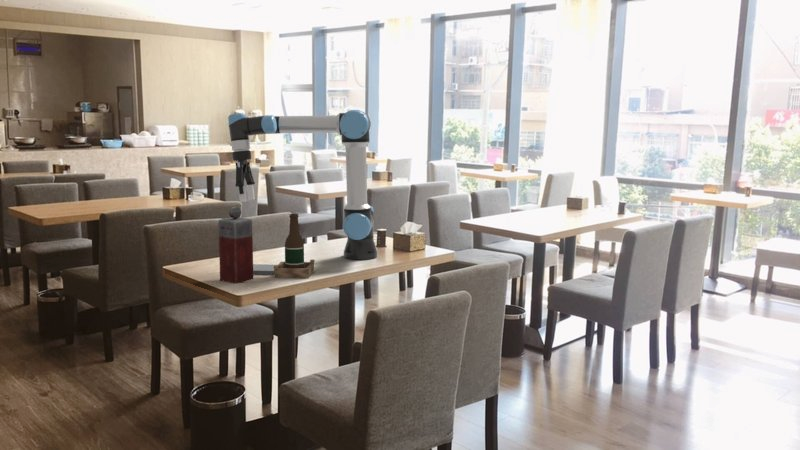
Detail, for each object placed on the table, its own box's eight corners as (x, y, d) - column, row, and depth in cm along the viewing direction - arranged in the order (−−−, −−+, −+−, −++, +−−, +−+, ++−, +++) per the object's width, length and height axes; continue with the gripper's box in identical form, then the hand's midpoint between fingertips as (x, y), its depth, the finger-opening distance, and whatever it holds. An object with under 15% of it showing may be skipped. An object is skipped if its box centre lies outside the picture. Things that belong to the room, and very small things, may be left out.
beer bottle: (308, 272, 273) (307, 213, 269) (299, 276, 266) (298, 215, 262) (290, 271, 275) (289, 212, 272) (281, 275, 268) (280, 214, 264)
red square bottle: (233, 275, 267) (231, 204, 263) (253, 279, 261) (252, 206, 256) (215, 279, 260) (213, 206, 255) (236, 283, 253) (234, 208, 249)
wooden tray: (314, 270, 277) (314, 259, 276) (309, 278, 263) (309, 266, 263) (280, 269, 277) (280, 259, 277) (273, 277, 264) (273, 266, 263)
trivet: (282, 268, 281) (282, 264, 280) (276, 274, 269) (276, 271, 268) (253, 267, 281) (253, 264, 281) (245, 274, 269) (245, 270, 269)
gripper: (240, 151, 299) (246, 199, 302) (223, 151, 275) (230, 203, 277) (257, 150, 299) (263, 198, 301) (242, 149, 274) (248, 201, 276)
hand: (247, 201), depth 289 cm, fingers open, 13 cm apart
